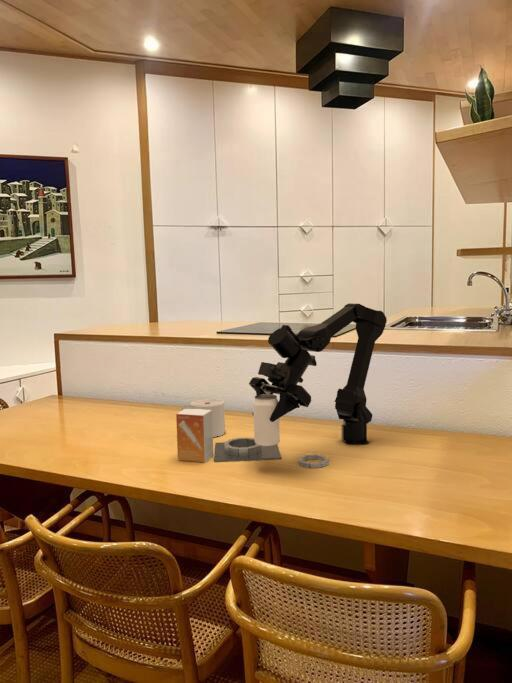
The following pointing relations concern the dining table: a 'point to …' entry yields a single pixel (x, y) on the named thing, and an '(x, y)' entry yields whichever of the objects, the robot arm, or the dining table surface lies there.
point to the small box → (194, 435)
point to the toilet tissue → (217, 413)
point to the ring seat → (244, 451)
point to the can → (265, 421)
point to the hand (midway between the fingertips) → (262, 418)
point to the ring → (313, 465)
